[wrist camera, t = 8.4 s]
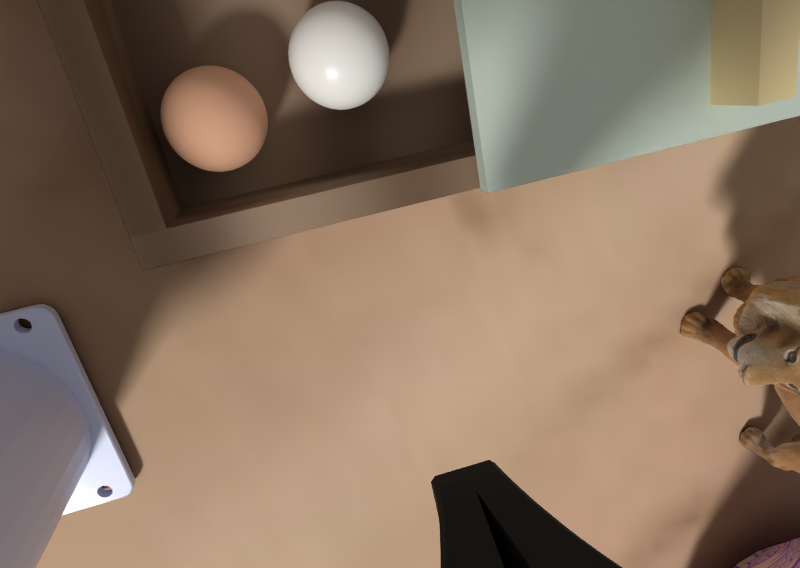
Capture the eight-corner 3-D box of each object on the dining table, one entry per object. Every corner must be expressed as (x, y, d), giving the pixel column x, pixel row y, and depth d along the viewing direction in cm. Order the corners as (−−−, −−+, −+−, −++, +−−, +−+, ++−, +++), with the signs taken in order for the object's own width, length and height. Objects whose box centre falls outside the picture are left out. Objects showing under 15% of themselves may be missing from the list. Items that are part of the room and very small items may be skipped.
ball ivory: (300, 117, 18) (305, 121, 15) (275, 18, 17) (276, 3, 14) (388, 98, 18) (408, 99, 16) (369, 0, 17) (387, -18, 15)
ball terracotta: (188, 174, 18) (173, 189, 15) (156, 78, 17) (133, 75, 14) (278, 154, 18) (280, 164, 16) (253, 59, 17) (249, 52, 14)
